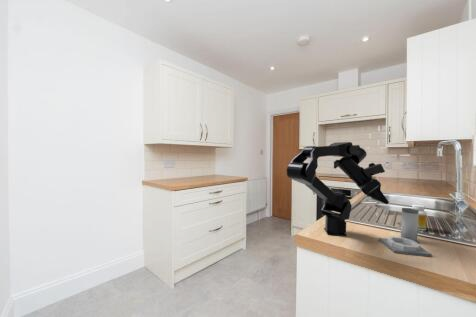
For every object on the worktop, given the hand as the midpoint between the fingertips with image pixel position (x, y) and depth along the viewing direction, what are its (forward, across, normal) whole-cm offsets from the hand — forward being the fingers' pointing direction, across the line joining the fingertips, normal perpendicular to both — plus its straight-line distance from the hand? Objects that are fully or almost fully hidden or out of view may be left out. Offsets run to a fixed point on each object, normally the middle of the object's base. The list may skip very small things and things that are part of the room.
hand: (384, 200), depth 78 cm
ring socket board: (+12, -9, +7) cm, 17 cm away
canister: (+15, 0, +4) cm, 15 cm away
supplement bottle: (+20, +17, -1) cm, 26 cm away
